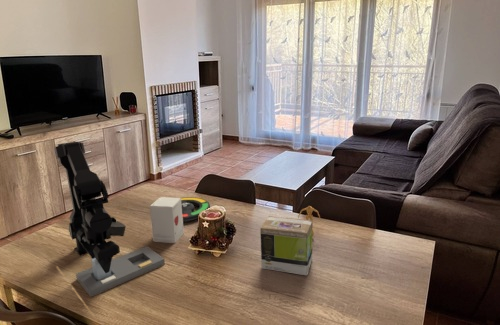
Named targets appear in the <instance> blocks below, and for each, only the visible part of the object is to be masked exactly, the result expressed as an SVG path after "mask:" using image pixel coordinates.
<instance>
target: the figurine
mask: <svg viewBox="0 0 500 325" xmlns="http://www.w3.org/2000/svg"><path fill="white" fill-rule="evenodd" d="M303 211H306V213H307V214H306V215H305V220H312V222H313V221H314V220H313V219H314V218H313V217H314V216H313V214H312V213H313V212H316V213H317V217H318V220H319V221H321V215H320V214H319V211H318V210H317V209H315V208H314V207H312V206H311V205H308V206H307V207H305V208H302V209H301V210H300V212H299V214H298V216H297V219H300V215H301V214H302V212H303ZM314 235H315V231H314V229H313V228H312V238H313V237H314Z"/></svg>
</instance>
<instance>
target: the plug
mask: <svg viewBox="0 0 500 325" xmlns="http://www.w3.org/2000/svg"><path fill="white" fill-rule="evenodd" d="M90 261H91V266H92V267H91V268H93V274H94V279H95V280H96V281H99V280H101V279H104V278H106V277H108V276H111V275H112V274H111V267H110V271H109V272H108V273H105V272H104V270H103V269H102V267H101V266H100V264H99V263H98V261H97V260H96V259H95V258H94V259H92V258H91V260H90Z"/></svg>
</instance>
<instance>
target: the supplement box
mask: <svg viewBox="0 0 500 325" xmlns="http://www.w3.org/2000/svg"><path fill="white" fill-rule="evenodd" d="M181 198H182V197H167V196H166V197H165V196H162V197H161V196H160V197H159V198H157V199H156V200H155V201H154V202H153V203H152V204H151V205H149V210H150V211H149V212H150V219H151V221H150V222H151V230H152V238H153V240H152V241H153V242H154V243H155V242H156V243H166V244H167V243H168V244H177V242H178V241H179V240H180V238H181V237H183V235H185V234H184V233H185V232H184V222H183V216H182V205H181Z"/></svg>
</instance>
